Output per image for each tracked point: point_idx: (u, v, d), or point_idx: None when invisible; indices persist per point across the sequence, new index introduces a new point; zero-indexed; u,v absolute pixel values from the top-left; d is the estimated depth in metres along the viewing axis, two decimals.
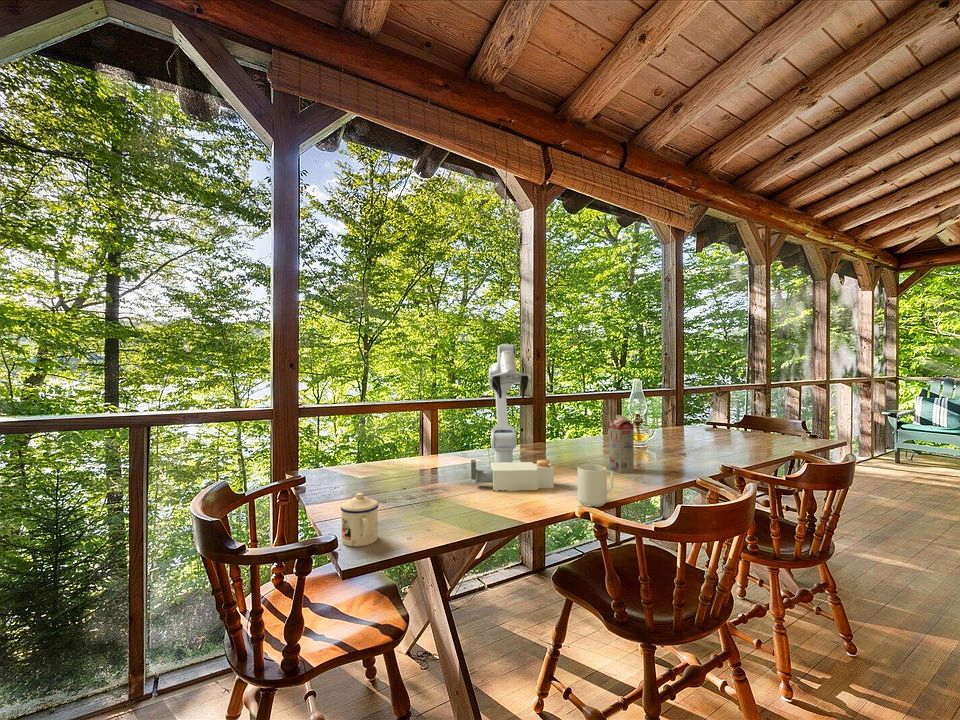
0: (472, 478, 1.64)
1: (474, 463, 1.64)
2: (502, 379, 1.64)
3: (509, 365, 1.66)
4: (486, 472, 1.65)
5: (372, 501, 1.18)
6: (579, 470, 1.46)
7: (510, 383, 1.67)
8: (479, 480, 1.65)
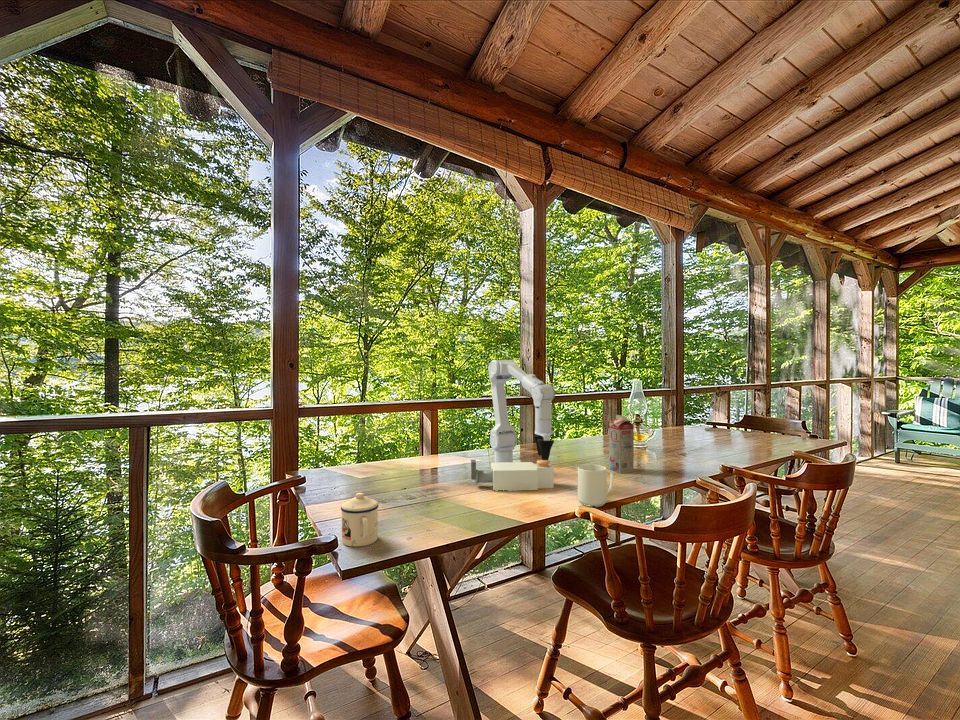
0: (472, 478, 1.64)
1: (474, 463, 1.64)
2: None
3: None
4: (486, 472, 1.65)
5: (372, 501, 1.18)
6: (579, 470, 1.46)
7: None
8: (479, 480, 1.65)
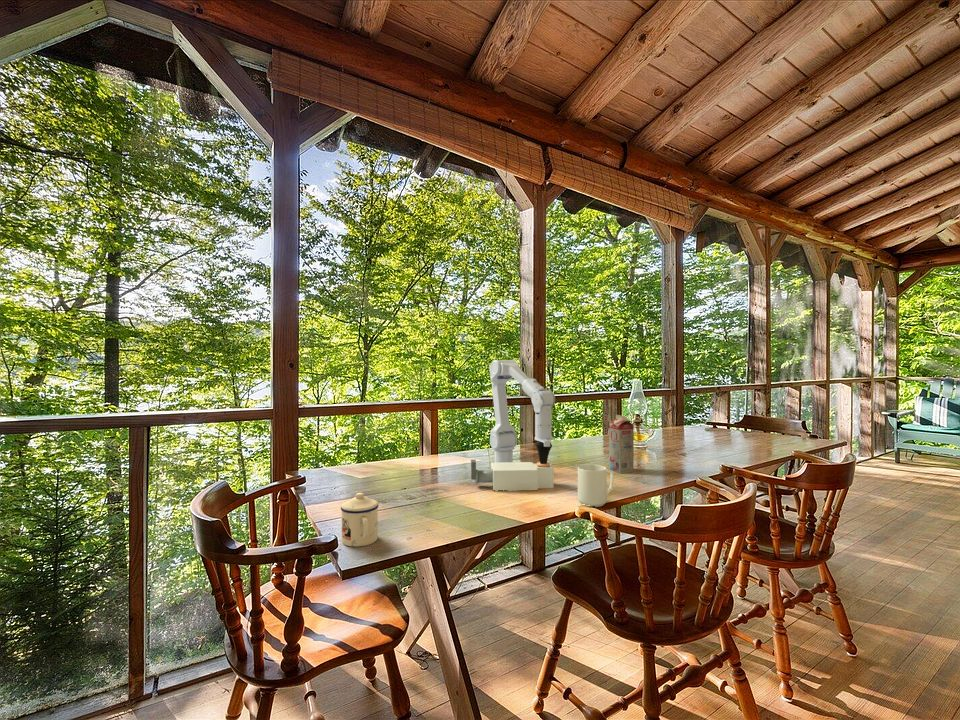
0: (472, 478, 1.64)
1: (474, 463, 1.64)
2: None
3: None
4: (486, 472, 1.65)
5: (372, 501, 1.18)
6: (579, 470, 1.46)
7: None
8: (479, 480, 1.65)
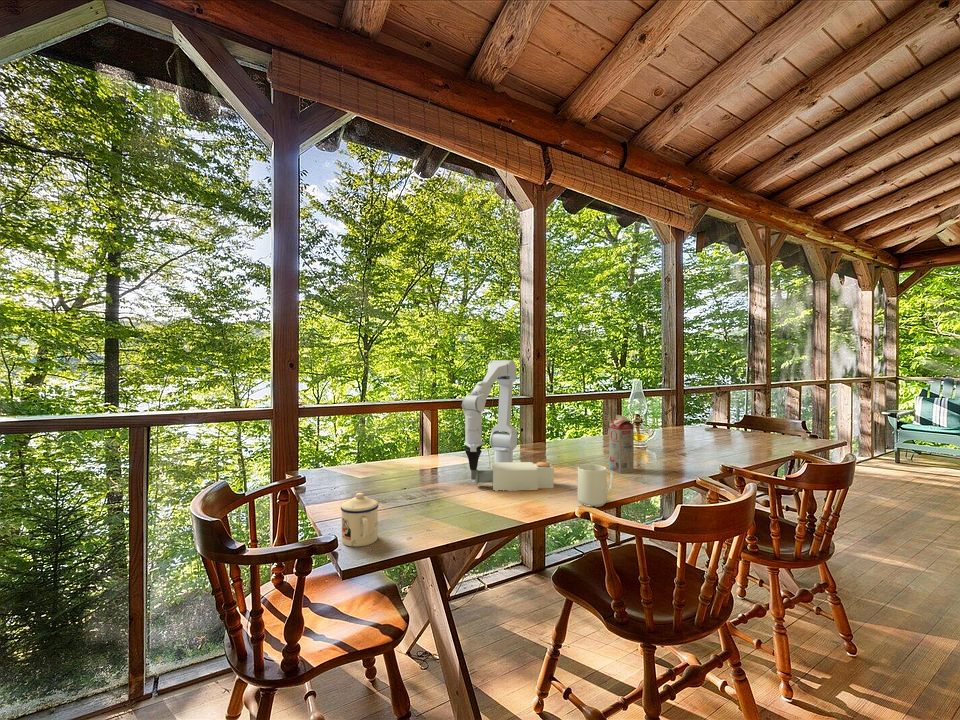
0: (472, 478, 1.64)
1: None
2: None
3: (481, 433, 1.66)
4: (486, 472, 1.65)
5: (372, 501, 1.18)
6: (579, 470, 1.46)
7: None
8: (479, 480, 1.65)
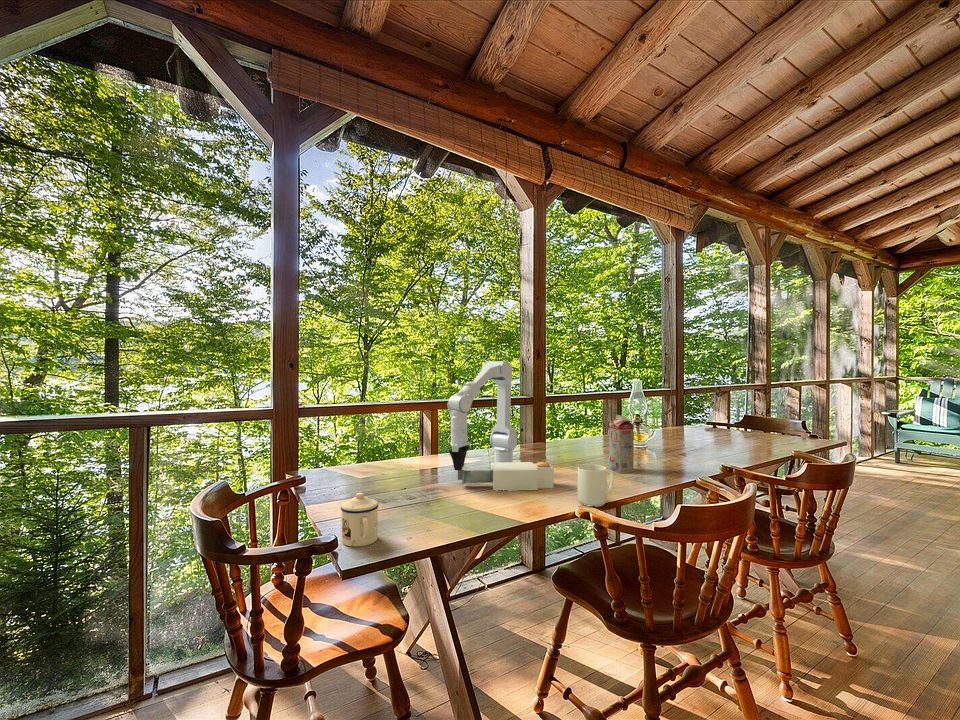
0: (459, 478, 1.64)
1: None
2: (458, 448, 1.63)
3: None
4: (473, 472, 1.65)
5: (372, 501, 1.18)
6: (579, 470, 1.46)
7: None
8: (466, 480, 1.64)
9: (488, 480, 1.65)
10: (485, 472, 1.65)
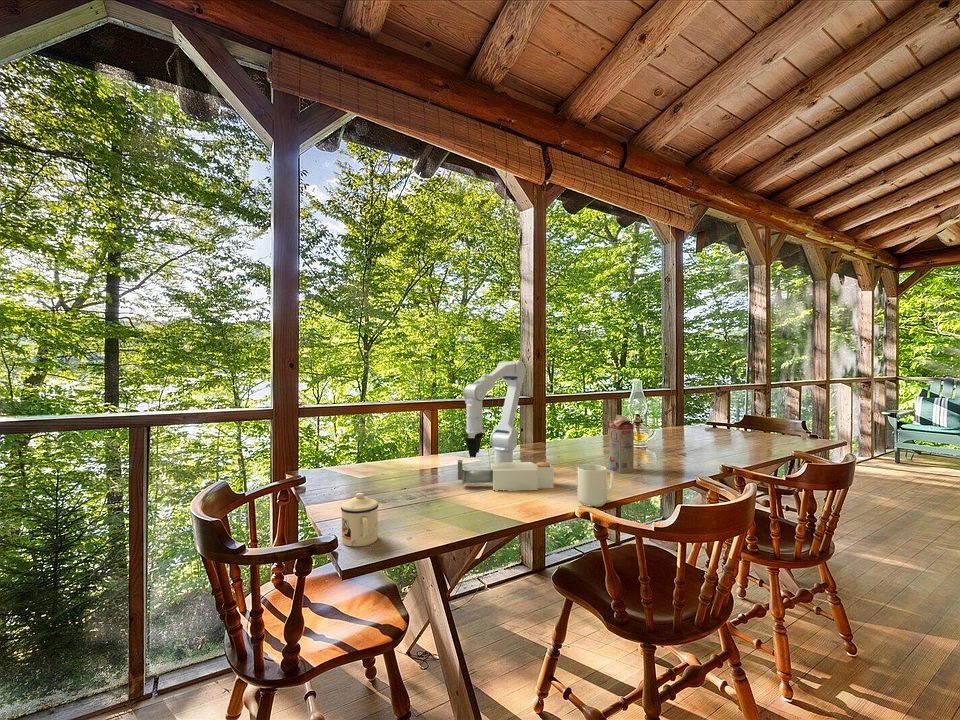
0: (459, 478, 1.64)
1: (460, 463, 1.64)
2: None
3: None
4: (473, 472, 1.65)
5: (372, 501, 1.18)
6: (579, 470, 1.46)
7: None
8: (466, 480, 1.64)
9: (488, 480, 1.65)
10: (485, 472, 1.65)
